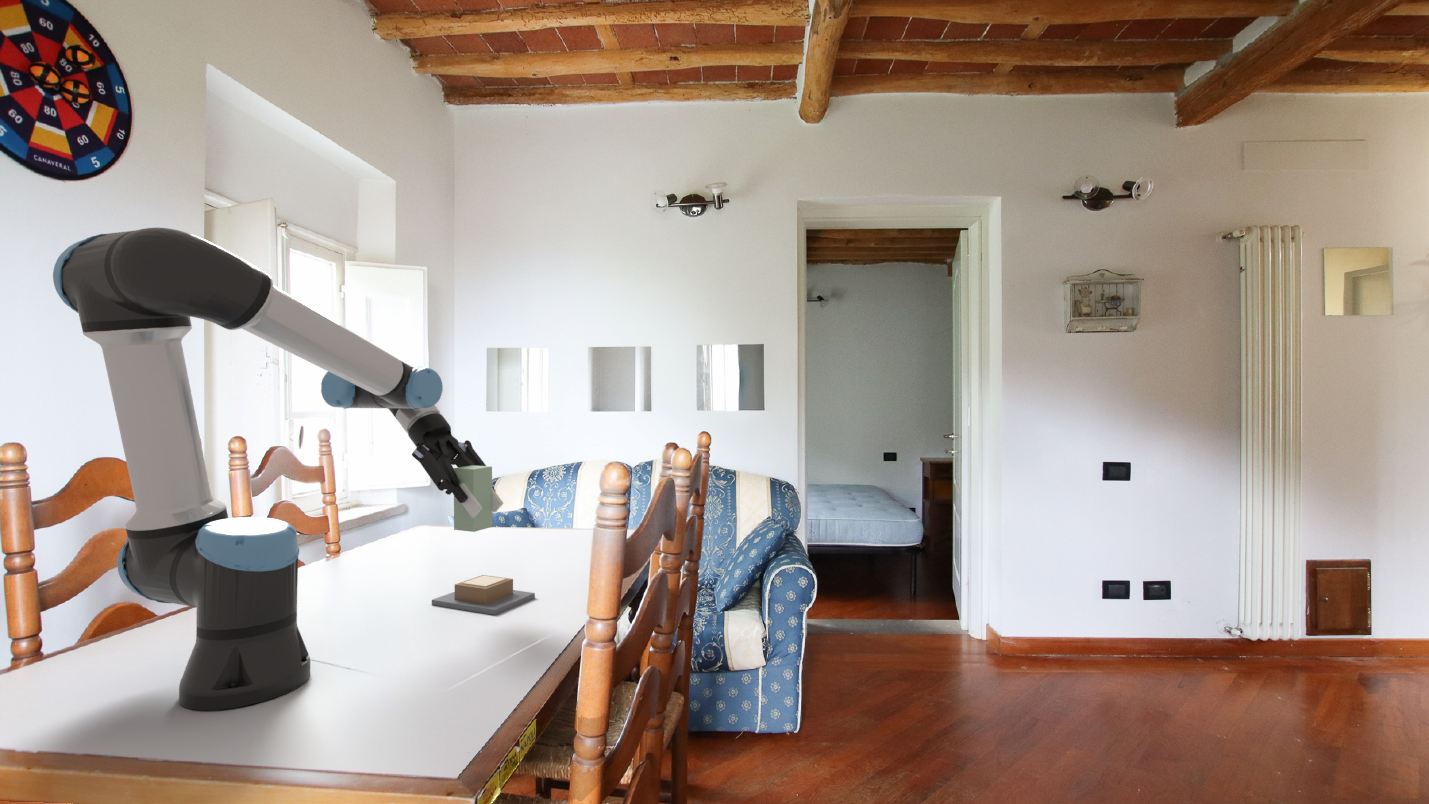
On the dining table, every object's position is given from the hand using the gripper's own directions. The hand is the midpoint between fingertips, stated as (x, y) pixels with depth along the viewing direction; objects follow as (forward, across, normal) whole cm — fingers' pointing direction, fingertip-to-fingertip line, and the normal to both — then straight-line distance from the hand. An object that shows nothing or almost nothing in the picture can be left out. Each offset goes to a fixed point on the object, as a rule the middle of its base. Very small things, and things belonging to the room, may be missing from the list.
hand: (488, 510), depth 123 cm
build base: (+10, -5, -18) cm, 21 cm away
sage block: (0, 0, -5) cm, 5 cm away
